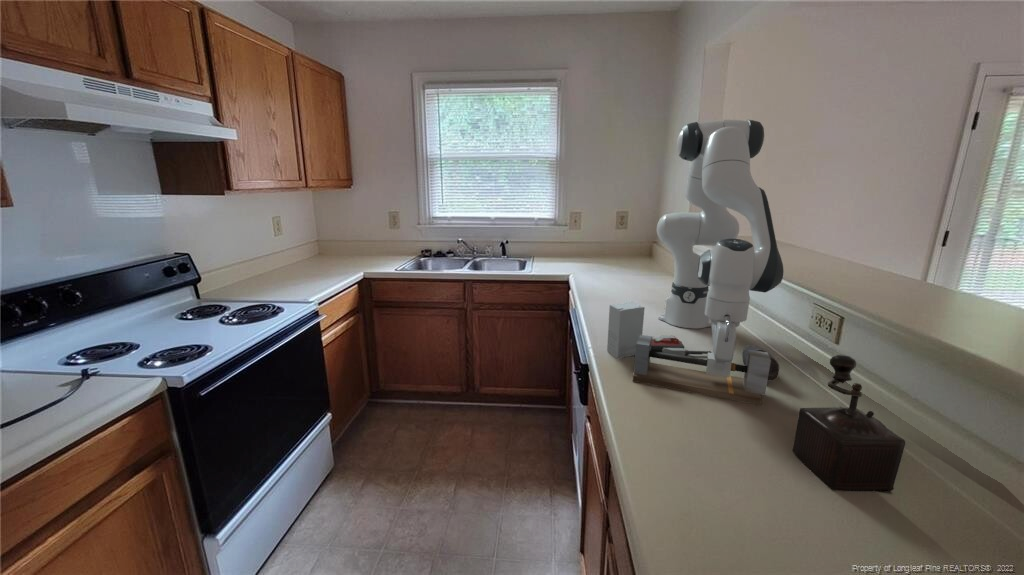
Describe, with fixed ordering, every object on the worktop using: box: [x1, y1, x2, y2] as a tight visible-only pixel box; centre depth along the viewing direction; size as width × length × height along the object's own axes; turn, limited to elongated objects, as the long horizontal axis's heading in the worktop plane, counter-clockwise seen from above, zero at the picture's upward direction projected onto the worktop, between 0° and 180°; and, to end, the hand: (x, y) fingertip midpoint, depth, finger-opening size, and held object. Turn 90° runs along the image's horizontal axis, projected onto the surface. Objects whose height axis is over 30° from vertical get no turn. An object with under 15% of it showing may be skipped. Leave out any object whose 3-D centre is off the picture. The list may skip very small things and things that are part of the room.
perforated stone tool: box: [741, 344, 780, 382], centre depth 109 cm, size 15×5×7 cm, turn 170°
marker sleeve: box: [705, 352, 733, 378], centre depth 99 cm, size 4×5×4 cm
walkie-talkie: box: [651, 335, 713, 356], centre depth 122 cm, size 9×4×20 cm
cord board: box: [632, 334, 771, 406], centre depth 101 cm, size 10×29×10 cm, turn 66°
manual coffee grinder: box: [792, 354, 906, 492], centre depth 72 cm, size 16×11×18 cm
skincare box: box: [606, 301, 646, 359], centre depth 119 cm, size 8×6×15 cm
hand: (718, 364), depth 99 cm, fingers closed on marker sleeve, 4 cm apart
